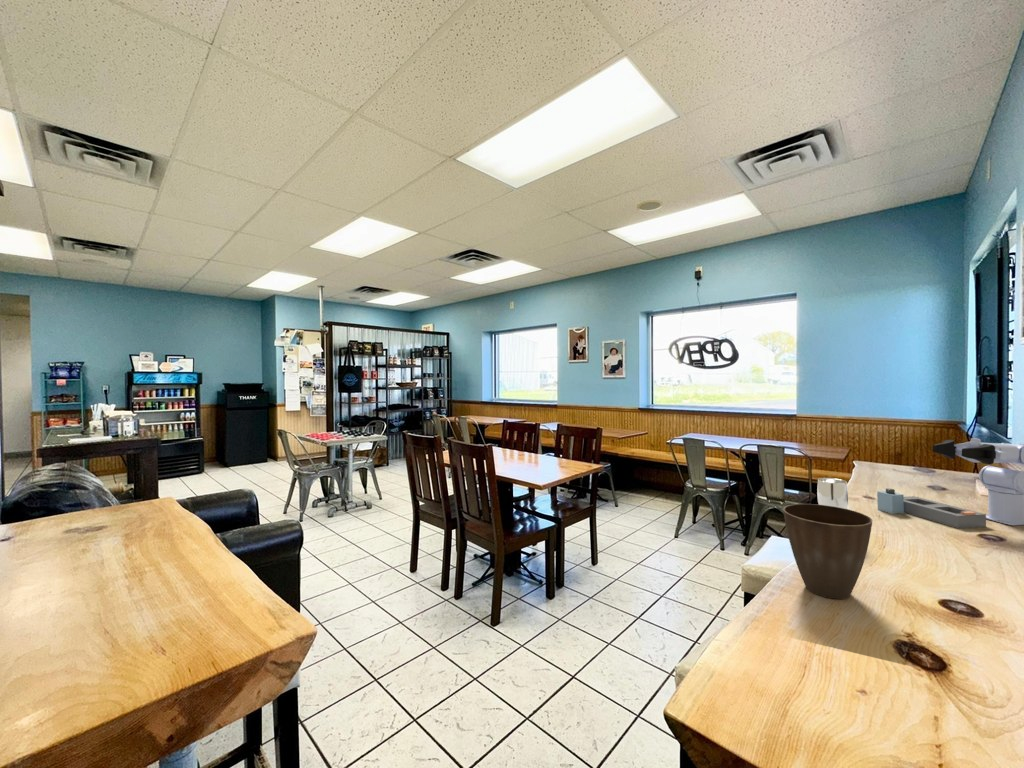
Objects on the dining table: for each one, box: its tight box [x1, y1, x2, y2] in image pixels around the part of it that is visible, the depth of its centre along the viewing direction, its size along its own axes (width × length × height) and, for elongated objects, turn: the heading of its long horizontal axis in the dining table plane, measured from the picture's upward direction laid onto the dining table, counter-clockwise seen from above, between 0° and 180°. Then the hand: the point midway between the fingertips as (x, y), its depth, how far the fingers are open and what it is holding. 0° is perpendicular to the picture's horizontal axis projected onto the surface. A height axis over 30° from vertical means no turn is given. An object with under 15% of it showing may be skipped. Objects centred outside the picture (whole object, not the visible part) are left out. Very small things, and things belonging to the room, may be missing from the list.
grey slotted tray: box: [904, 495, 987, 529], centre depth 133 cm, size 9×20×4 cm, turn 6°
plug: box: [876, 487, 905, 515], centre depth 139 cm, size 4×5×7 cm
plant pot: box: [782, 503, 873, 600], centre depth 89 cm, size 15×15×16 cm
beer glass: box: [816, 477, 849, 509], centre depth 121 cm, size 7×7×15 cm
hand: (948, 450), depth 126 cm, fingers open, 7 cm apart
